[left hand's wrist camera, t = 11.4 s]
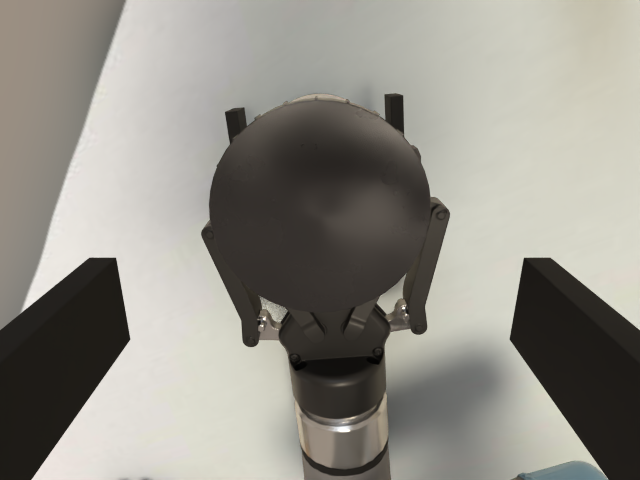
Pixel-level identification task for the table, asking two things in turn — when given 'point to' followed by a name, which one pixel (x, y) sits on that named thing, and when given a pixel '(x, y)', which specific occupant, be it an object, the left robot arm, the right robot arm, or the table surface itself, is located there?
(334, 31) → the table surface
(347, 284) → the lid
